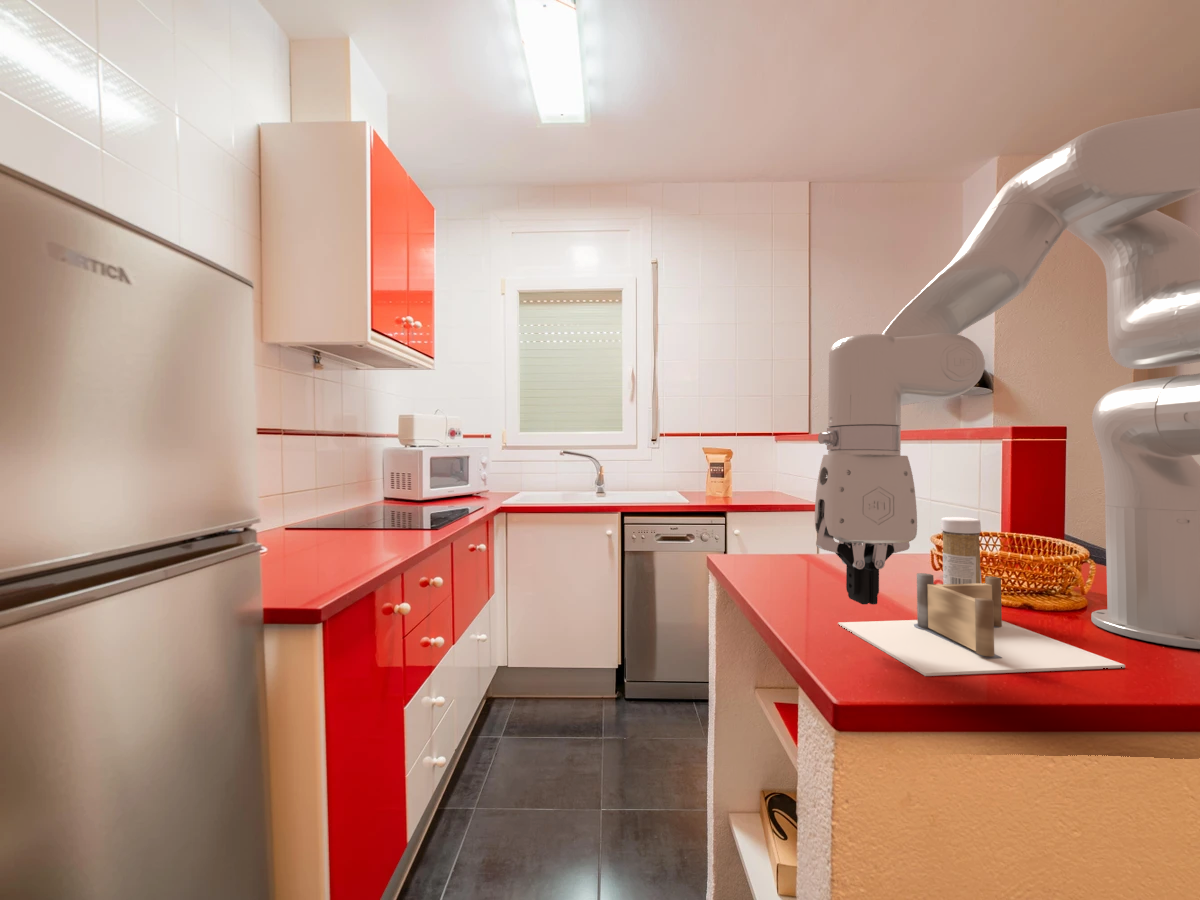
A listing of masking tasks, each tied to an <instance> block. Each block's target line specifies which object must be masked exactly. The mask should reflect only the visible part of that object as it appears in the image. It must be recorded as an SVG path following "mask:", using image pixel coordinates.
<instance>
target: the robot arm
mask: <svg viewBox="0 0 1200 900" xmlns="http://www.w3.org/2000/svg"><path fill="white" fill-rule="evenodd" d="M1198 193H1200V107H1198V108H1188V109H1182V110H1177V111H1171V112H1165V113H1159V114H1154V115H1152V114H1151V115H1146V116H1142V117H1141V116H1140V117H1135V118H1129V119H1125V120H1120V121H1116V122H1112V123H1111V122H1110V123H1108V124H1104V125H1102V126H1101V125H1100V126H1098V127H1095V128H1093V129H1090V130H1088V131H1086V132H1083V133H1082V134H1080V135H1078V136H1076V137H1075V138H1073V139H1071V140H1069V141H1068V142H1066V143H1065V144H1062V145H1061V146H1060V147H1058V148H1056V149H1055V150H1053V151H1051V152H1050V153H1048V154H1046V155H1045V156H1043V157H1041V158H1040V159H1038V160H1036V161H1035V162H1033V163H1032V164H1029V165H1028V166H1026V167H1025V168H1023V169H1022V170H1021V171H1019V172H1017V173H1016V174H1015V175H1013V177H1011V178H1010V179H1009V180H1008V181H1007V182H1006V183H1005V184H1004V185H1003V186H1002V187H1001V189H999V191H998V193H997V194H996V195H995V197H994V198H993V199H992V201H991V203H989V206H987V208H986V210H985V211H984V213H983V214H982V215H981V217H980V219H979V220H978V222H977V223H976V225H975V226H974V228H973V229H972V231H971V233H970V234H968V235H969V236H968V237H967V238H966V240H965V241H964V243H963V244H962V245H961V247H960V249H959V250H958V251H957V253H956V254H955V255H954V257H953V258H952V259H951V261H950V262H949V263H948V265H946V266H945V267H944V268H943V269H942V270H941V271H940V272H939V273H938V274H936V276H935V277H934V278H933V279H932V280H931V281H929V282H928V283H927V285H926V286H925V287H924V288H923V289H922V290H921V291H920V292H919V293H918V294H917V295H916V296H915V297H914V298H913V299H911V300H910V302H909V303H907V305H905V307H903V308H902V309H901V310H900V312H899V313H898V314H897V315H896V316H895V317H894V318H893V319H892V321H891V322H890V323H889V324H888V326H887V327H886V328H885V329H884V331H883V332H882V333H866V334H865V333H863V334H858V335H851V336H850V335H849V336H847V337H844V338H841V339H839V340H837V341H836V342H834V343H833V344H832V345H831V347H830V349H829V353H828V401H827V402H828V404H827V406H828V411H827V413H828V415H827V416H828V417H827V419H828V420H827V422H828V423H827V424H828V427H827V428H826V431H825V432H819V434H818V436H817V441H818V443H819V445H820V444H822V445H826V450H827V454H823V455H822V459H821V461H820V462H821V463H820V467H819V471H818V476H817V484H816V493H815V505H814V527H815V531H816V533H817V538H816V541H815V546H816V547H817V548H818V549H821V550H824V551H827V552H831V553H835V554H836V556H837V557H838V558H839V559H840V560H841V562H842V564H844V565H846V570H845V571H846V573H845V574H846V582H845V583H846V586H845V587H846V592H847V596H848V598H849V599H850V600H853V601H854V602H856V603H859V604H861V605H868V604H870V605H877V604H878V597H879V596H878V595H879V593H880V570H882V569H883V568H884V567H885V565H886V561H887V560H888V559H889V558H890V557H891V556H892V555H893V554H896V553H900V552H905V551H907V550H909V549H910V548H911V547H910V542H912V541H913V540H915V539H916V537H917V534H918V510H917V498H916V489H915V488H916V487H915V482H914V477H913V476H914V475H913V472H912V467H911V464H910V459H909V456H908V455H901V454H902V453H901V450H902V449H901V448H902V446H901V445H902V444H901V441H902V440H901V437H902V436H901V435H902V434H901V430H902V428H901V425H902V424H901V423H902V420H901V419H902V418H901V417H902V415H901V414H902V411H901V408H902V406H909V405H914V404H921V403H922V404H923V403H929V402H930V403H931V402H937V401H941V400H943V401H944V400H948V399H952V398H955V397H958V396H960V395H963V394H965V393H966V392H968V391H970V390H971V389H972V388H974V386H976V384H978V382H979V381H980V380H981V378H982V377H983V373H984V371H985V368H986V367H985V361H986V360H985V357H984V354H983V351H982V349H981V348H980V347H979V346H978V345H977V344H976V343H975V342H974V341H973V340H971V339H969V338H968V337H965V336H963V335H961V334H960V333H962V332H963V331H965V330H966V329H968V328H969V327H972V326H973V325H974V324H976V323H978V322H980V321H982V320H983V319H986V318H987V317H989V316H990V315H992V314H994V313H995V312H998V311H999V310H1001V308H1003V307H1004V306H1005V305H1007V304H1009V303H1010V302H1011V301H1013V300H1015V299H1016V298H1017V297H1018V296H1020V295H1021V293H1023V292H1024V291H1025V289H1027V288H1028V286H1029V284H1030V282H1031V281H1032V280H1033V278H1034V276H1035V275H1036V274H1037V272H1038V270H1039V269H1040V268H1041V266H1042V264H1043V263H1044V261H1045V260H1046V258H1047V257H1048V255H1049V254H1050V252H1051V251H1052V249H1053V247H1054V246H1055V244H1056V243H1057V241H1058V240H1059V238H1060V237H1061V236H1062V234H1063V233H1064V231H1065V230H1066V231H1067V232H1069V233H1071V234H1072V235H1074V236H1075V237H1077V238H1078V239H1080V240H1081V241H1082V242H1084V243H1085V244H1086V245H1087V246H1088V247H1089V248H1090V249H1092V250H1093V252H1094V253H1095V254H1096V255H1097V256H1098V257H1099V259H1100V260H1101V262H1102V264H1103V266H1104V267H1103V268H1104V269H1105V278H1106V307H1107V309H1106V310H1107V311H1106V312H1107V313H1106V314H1107V318H1106V320H1107V344H1108V345H1107V346H1108V350H1109V354H1110V356H1111V358H1112V359H1113V361H1114V362H1115V363H1117V364H1118V365H1119V366H1121V367H1123V368H1127V369H1131V370H1133V369H1134V370H1149V369H1159V368H1160V369H1161V368H1169V367H1176V366H1183V365H1190V364H1197V363H1200V235H1199V234H1198V232H1196V231H1195V230H1194V229H1193V228H1192V227H1191V226H1189V225H1187V224H1185V223H1184V222H1182V221H1180V220H1178V219H1176V218H1173V217H1172V216H1170V215H1167V214H1165V213H1163V212H1161V211H1159V209H1160V208H1163V207H1166V206H1168V205H1170V204H1173V203H1175V202H1179V201H1181V200H1183V199H1186V198H1189V197H1191V196H1192V195H1196V194H1198ZM1091 424H1092V430H1093V433H1094V437H1095V441H1096V443H1097V446H1098V447H1097V448H1098V450H1099V455H1100V458H1101V463H1102V472H1103V480H1104V481H1103V482H1104V508H1105V509H1104V516H1105V517H1104V518H1105V519H1104V521H1105V557H1106V559H1105V560H1106V562H1105V564H1106V595H1107V596H1106V598H1107V599H1106V600H1107V606H1106V607H1107V608H1106V609H1098V610H1095V611H1092V612H1091V617H1090V618H1091V622H1092V623H1093V624H1094V625H1095V626H1096V627H1099V628H1100V629H1103V630H1105V631H1108V632H1110V633H1114V634H1117V635H1120V636H1125V637H1127V638H1131V639H1135V640H1140V641H1143V642H1149V643H1155V644H1159V645H1166V646H1171V647H1179V648H1183V649H1184V648H1185V649H1191V650H1192V649H1194V650H1200V463H1198V462H1197V460H1196V459H1195V458H1194V457H1193V456H1198V455H1199V456H1200V373H1193V374H1192V373H1191V374H1180V375H1174V376H1168V377H1167V376H1166V377H1158V378H1150V379H1144V380H1139V381H1134V382H1129V383H1126V384H1123V385H1120V386H1117V387H1115V388H1113V389H1111V390H1110V391H1107V392H1106V393H1104V395H1102V396H1101V397H1100V399H1098V401H1097V402H1096V403H1095V405H1094V407H1093V410H1092V415H1091Z"/></svg>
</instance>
